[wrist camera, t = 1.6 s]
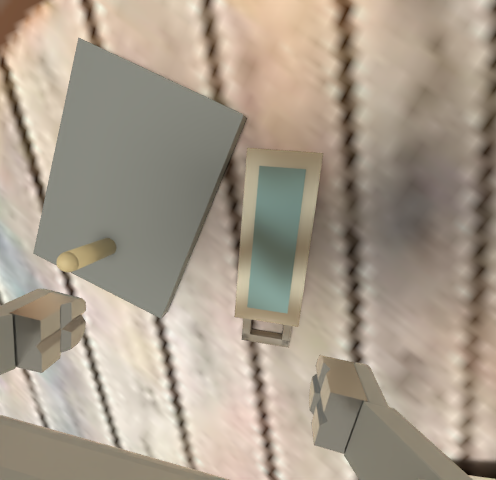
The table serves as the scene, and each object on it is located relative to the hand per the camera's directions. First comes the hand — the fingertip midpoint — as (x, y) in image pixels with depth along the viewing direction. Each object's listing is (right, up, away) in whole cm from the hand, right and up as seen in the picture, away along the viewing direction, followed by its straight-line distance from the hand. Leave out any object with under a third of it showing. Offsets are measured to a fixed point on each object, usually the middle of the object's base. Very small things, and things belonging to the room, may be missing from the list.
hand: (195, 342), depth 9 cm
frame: (+4, +2, +17) cm, 18 cm away
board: (-10, +8, +18) cm, 22 cm away
